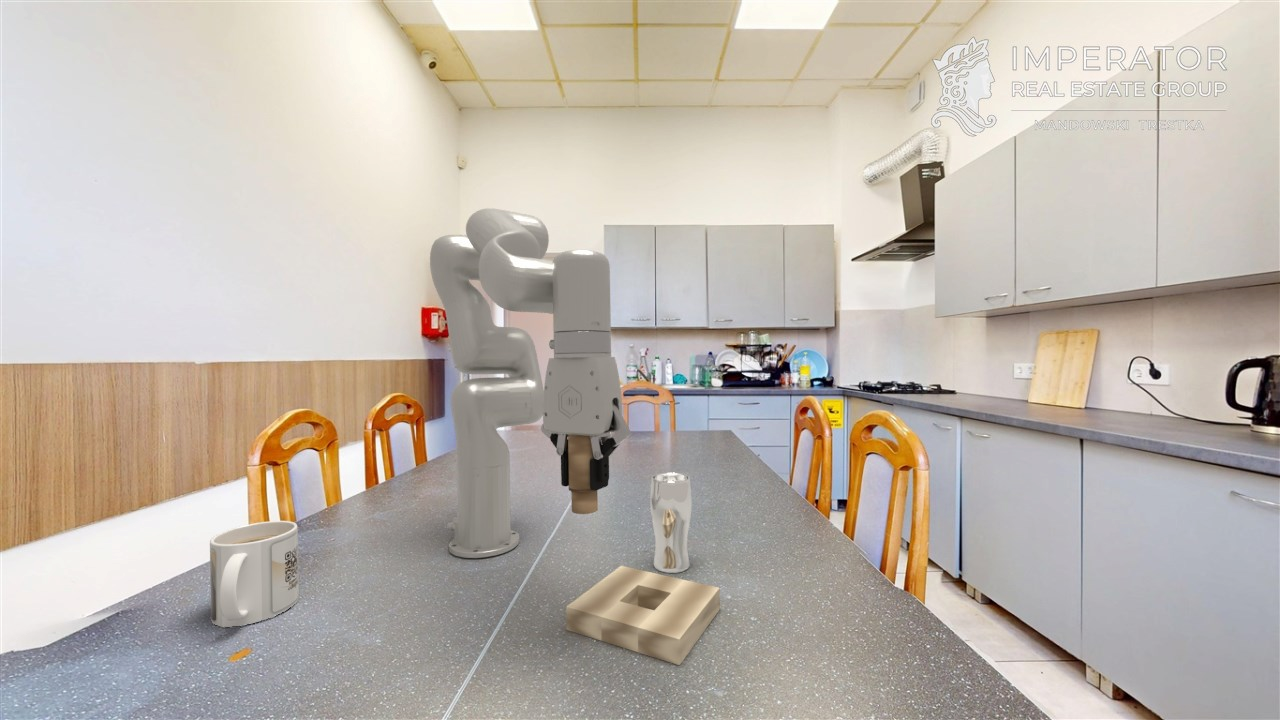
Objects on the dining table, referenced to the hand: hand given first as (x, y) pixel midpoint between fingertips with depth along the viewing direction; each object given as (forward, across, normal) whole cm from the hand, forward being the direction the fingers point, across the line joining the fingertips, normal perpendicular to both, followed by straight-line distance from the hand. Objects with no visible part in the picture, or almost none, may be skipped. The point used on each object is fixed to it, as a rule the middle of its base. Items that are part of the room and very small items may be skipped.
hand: (584, 484), depth 64 cm
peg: (+3, 0, 0) cm, 3 cm away
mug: (+18, -43, -20) cm, 51 cm away
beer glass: (+19, +1, +22) cm, 29 cm away
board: (+19, +6, +5) cm, 20 cm away
